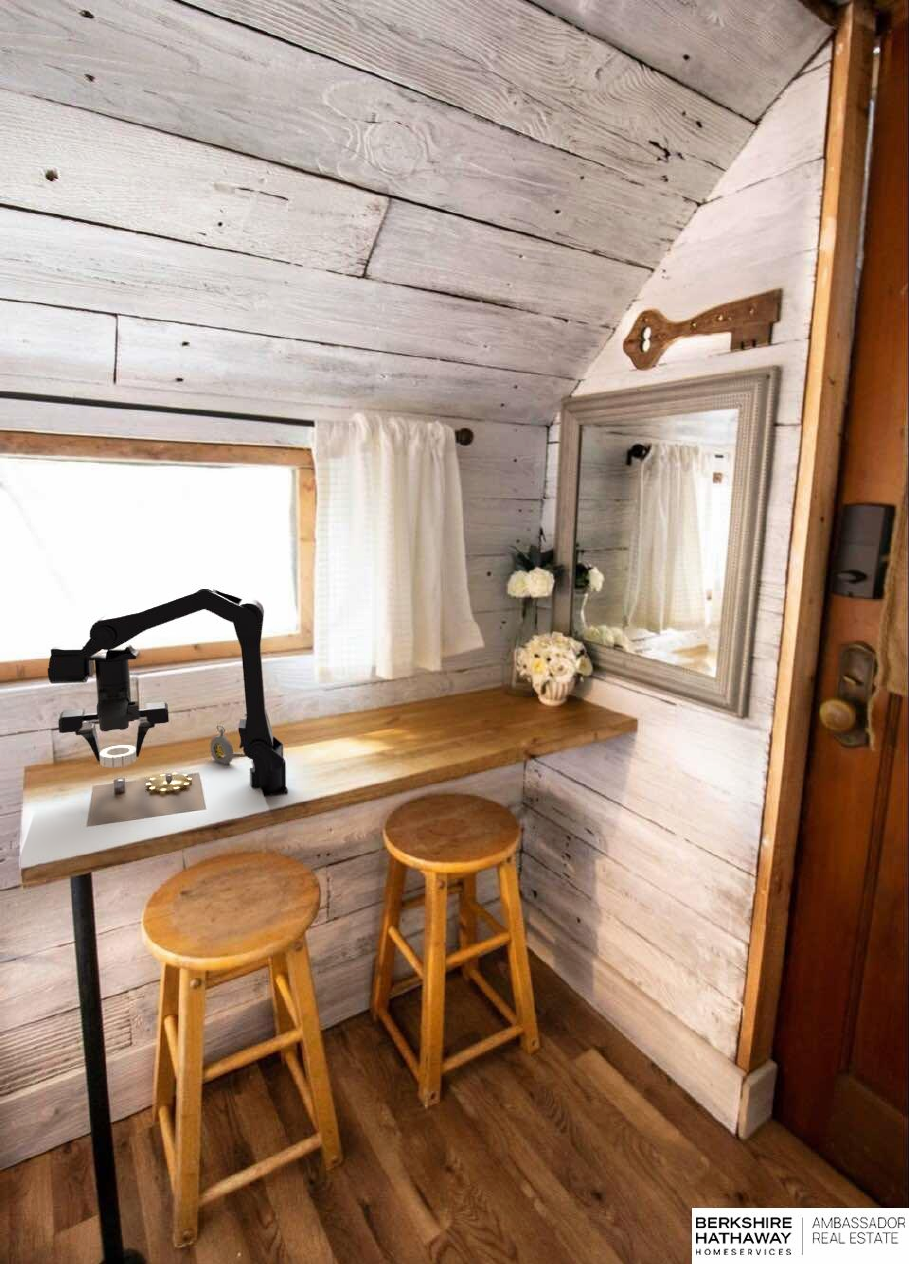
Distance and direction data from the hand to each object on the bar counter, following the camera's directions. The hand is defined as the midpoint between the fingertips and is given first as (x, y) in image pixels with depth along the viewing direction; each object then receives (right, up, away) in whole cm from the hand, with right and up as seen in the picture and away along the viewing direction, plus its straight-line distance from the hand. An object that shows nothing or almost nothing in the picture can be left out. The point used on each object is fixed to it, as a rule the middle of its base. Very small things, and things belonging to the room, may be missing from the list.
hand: (118, 758), depth 133 cm
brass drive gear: (+8, -6, +5) cm, 11 cm away
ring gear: (0, 0, 0) cm, 0 cm away
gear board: (+6, -9, 0) cm, 11 cm away
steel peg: (0, -7, +1) cm, 7 cm away
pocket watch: (+15, -5, +21) cm, 26 cm away
